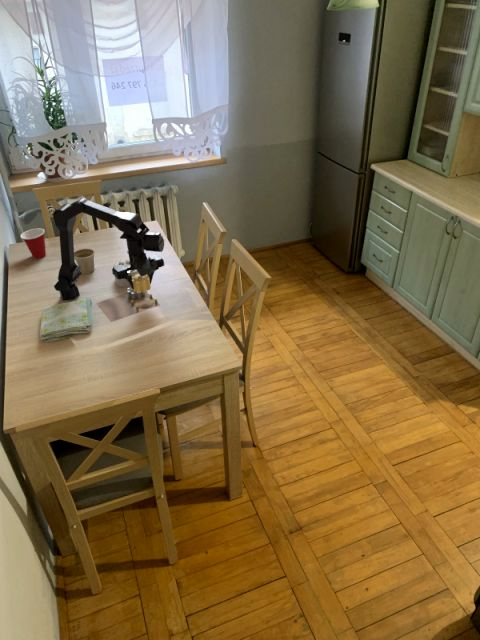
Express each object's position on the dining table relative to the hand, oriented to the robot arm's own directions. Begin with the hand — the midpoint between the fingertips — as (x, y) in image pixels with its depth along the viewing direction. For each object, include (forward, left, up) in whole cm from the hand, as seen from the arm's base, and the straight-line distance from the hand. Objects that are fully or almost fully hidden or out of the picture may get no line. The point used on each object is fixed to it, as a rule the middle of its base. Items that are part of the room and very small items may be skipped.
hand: (141, 286), depth 178 cm
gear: (0, +7, -8) cm, 11 cm away
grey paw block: (+3, +23, -9) cm, 24 cm away
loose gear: (0, 0, -1) cm, 1 cm away
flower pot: (-8, +42, -9) cm, 44 cm away
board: (-5, +3, -9) cm, 11 cm away
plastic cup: (-22, +70, -9) cm, 74 cm away
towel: (-28, +5, -10) cm, 31 cm away
